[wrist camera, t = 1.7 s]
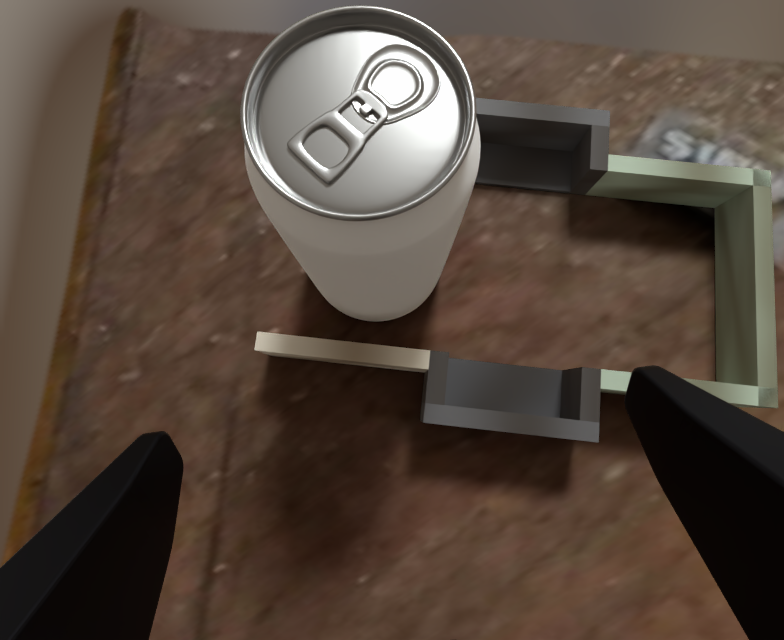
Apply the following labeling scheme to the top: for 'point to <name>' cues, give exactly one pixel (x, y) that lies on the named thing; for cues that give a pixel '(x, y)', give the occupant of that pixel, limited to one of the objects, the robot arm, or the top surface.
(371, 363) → the channel
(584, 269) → the top surface
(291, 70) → the can
